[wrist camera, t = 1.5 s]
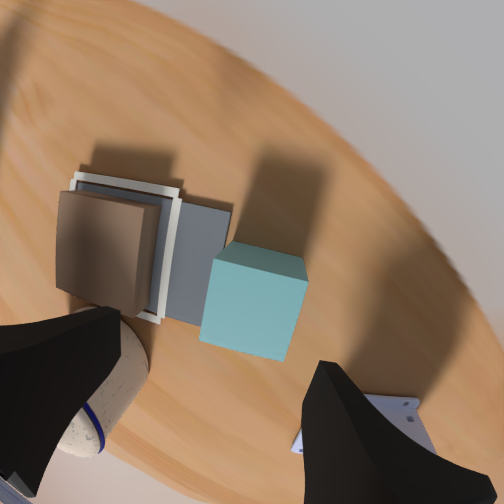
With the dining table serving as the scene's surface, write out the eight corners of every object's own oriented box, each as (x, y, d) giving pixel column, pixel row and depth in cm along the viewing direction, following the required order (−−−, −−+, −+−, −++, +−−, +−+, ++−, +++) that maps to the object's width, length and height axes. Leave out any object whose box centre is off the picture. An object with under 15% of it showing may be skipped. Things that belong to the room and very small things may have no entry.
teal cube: (302, 257, 18) (308, 281, 13) (284, 321, 19) (283, 361, 14) (232, 240, 18) (213, 258, 13) (219, 304, 19) (198, 340, 14)
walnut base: (161, 205, 18) (144, 208, 15) (149, 304, 19) (133, 318, 17) (81, 189, 18) (60, 191, 16) (75, 277, 20) (56, 287, 17)
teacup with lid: (79, 280, 20) (-30, 338, 9) (169, 346, 20) (89, 456, 9) (59, 368, 23) (-9, 428, 12) (128, 421, 23) (74, 501, 12)
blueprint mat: (234, 199, 17) (233, 199, 17) (207, 335, 20) (206, 338, 19) (75, 171, 18) (72, 171, 18) (67, 286, 20) (64, 288, 20)
